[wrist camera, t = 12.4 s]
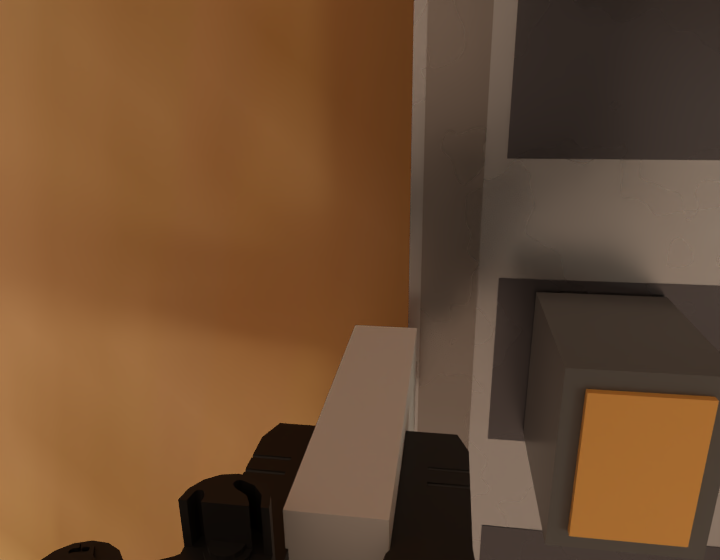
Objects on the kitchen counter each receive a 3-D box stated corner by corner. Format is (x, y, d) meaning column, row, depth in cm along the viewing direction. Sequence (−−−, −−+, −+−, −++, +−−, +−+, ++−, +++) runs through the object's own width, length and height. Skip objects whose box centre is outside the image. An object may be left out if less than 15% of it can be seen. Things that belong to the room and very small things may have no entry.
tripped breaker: (536, 291, 15) (567, 371, 11) (667, 296, 14) (749, 382, 10) (523, 433, 16) (546, 550, 12) (642, 441, 15) (706, 565, 12)
